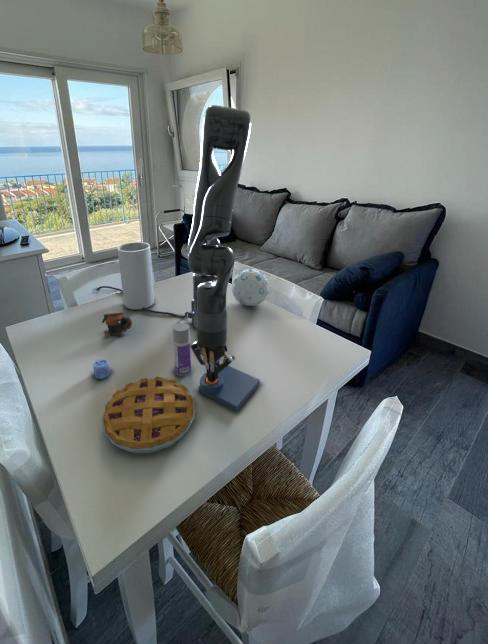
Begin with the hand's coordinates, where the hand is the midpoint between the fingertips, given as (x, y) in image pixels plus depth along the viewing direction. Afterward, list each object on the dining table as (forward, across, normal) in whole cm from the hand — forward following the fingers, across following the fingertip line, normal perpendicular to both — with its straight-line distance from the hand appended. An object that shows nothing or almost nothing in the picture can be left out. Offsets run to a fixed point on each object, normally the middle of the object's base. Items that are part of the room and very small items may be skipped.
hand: (212, 379), depth 85 cm
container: (+4, +12, -2) cm, 12 cm away
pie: (+4, +6, +17) cm, 18 cm away
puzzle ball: (+4, +17, -50) cm, 53 cm away
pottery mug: (+4, +45, -4) cm, 45 cm away
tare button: (+2, 0, 0) cm, 2 cm away
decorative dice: (+4, +30, +14) cm, 33 cm away
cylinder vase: (+4, +55, -24) cm, 60 cm away
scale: (+4, -3, -4) cm, 6 cm away
